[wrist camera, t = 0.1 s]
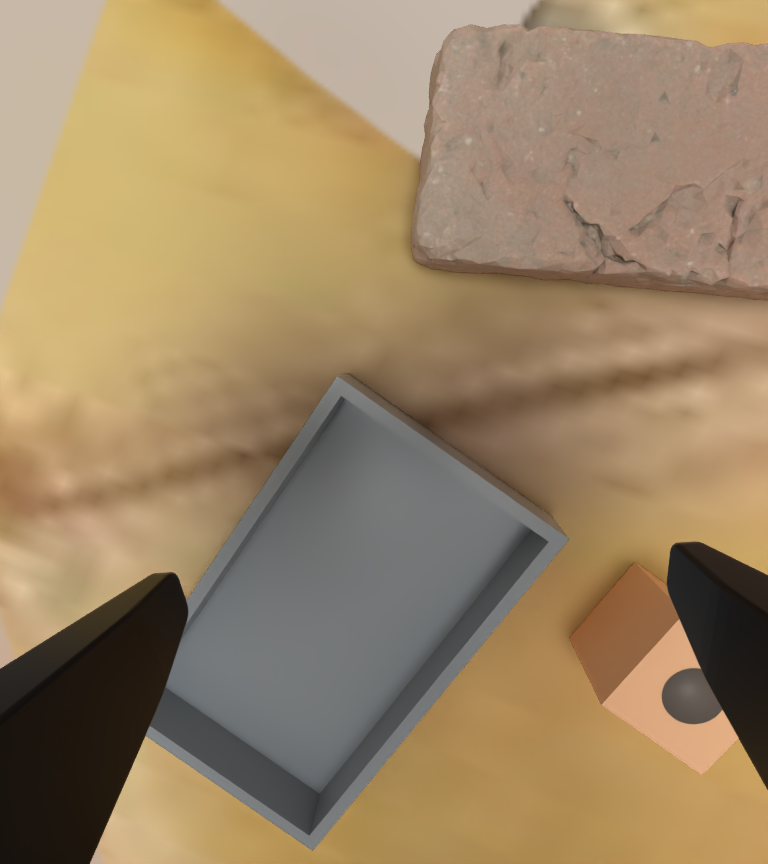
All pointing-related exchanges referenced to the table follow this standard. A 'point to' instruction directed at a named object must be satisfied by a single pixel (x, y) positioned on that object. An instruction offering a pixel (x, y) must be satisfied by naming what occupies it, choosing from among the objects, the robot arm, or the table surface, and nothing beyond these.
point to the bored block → (652, 670)
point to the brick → (597, 160)
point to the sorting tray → (344, 609)
